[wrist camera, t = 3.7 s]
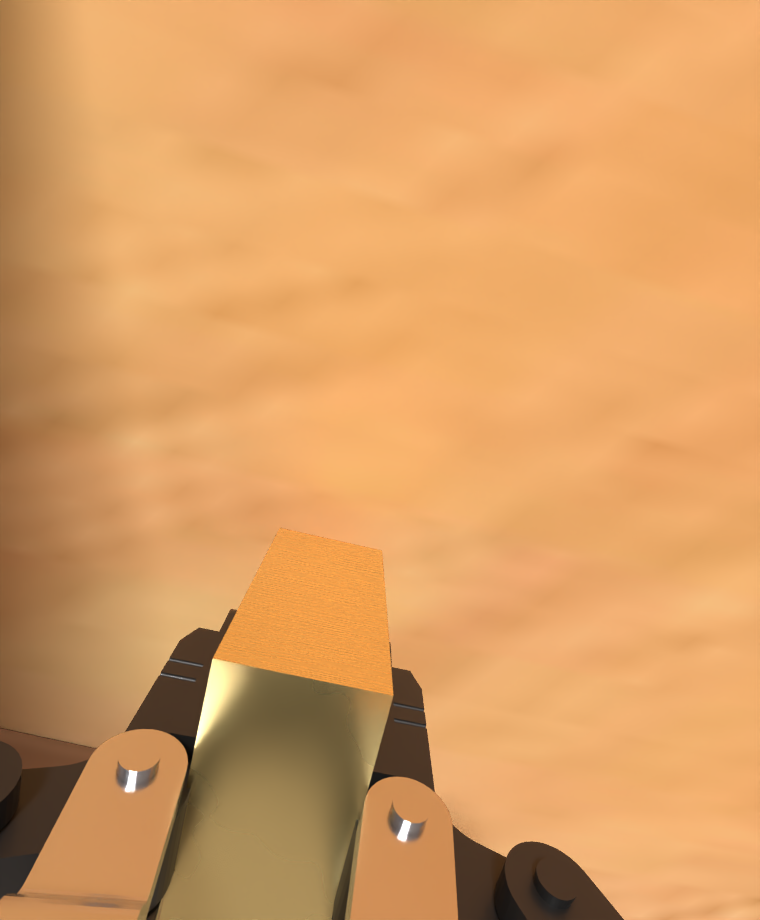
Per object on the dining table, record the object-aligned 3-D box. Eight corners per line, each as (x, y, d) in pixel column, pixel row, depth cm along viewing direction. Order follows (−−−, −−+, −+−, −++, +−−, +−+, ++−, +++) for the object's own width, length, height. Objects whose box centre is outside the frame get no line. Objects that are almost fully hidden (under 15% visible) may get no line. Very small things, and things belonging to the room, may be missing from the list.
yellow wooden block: (280, 527, 12) (212, 658, 7) (381, 550, 13) (392, 695, 7) (238, 719, 13) (149, 967, 8) (334, 738, 13) (311, 995, 8)
